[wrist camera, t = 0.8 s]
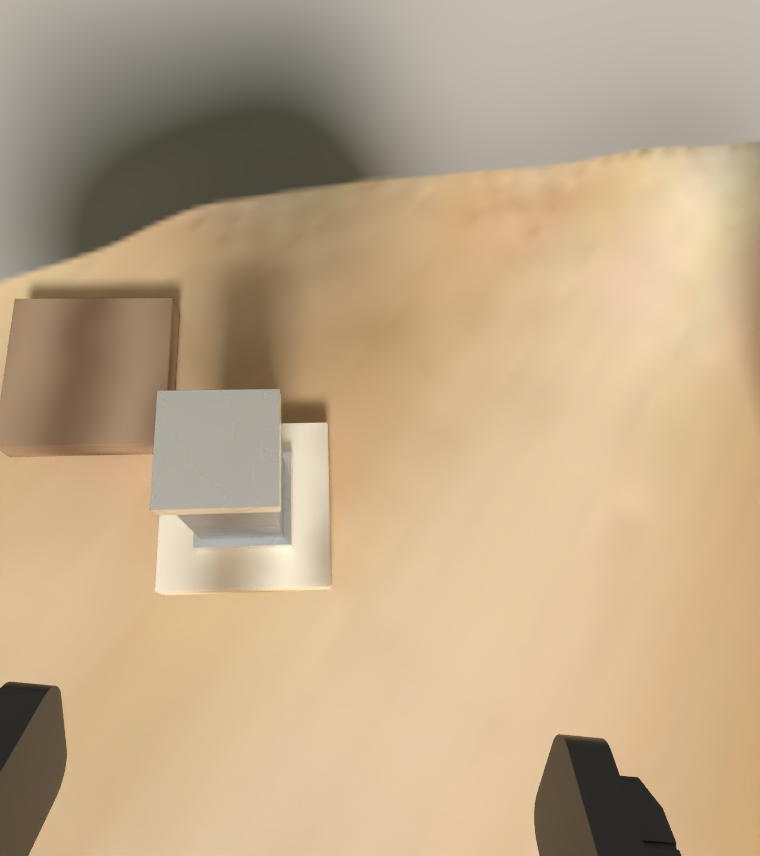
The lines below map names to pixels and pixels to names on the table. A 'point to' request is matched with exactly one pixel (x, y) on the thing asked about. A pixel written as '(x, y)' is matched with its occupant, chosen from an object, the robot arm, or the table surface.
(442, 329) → the table surface
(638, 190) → the table surface
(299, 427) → the stand
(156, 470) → the block
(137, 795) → the table surface
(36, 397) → the stand
